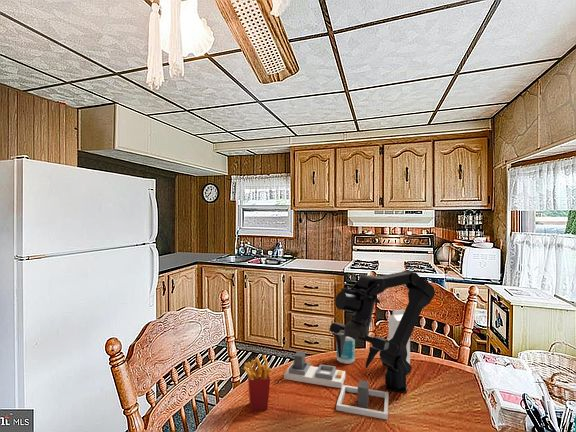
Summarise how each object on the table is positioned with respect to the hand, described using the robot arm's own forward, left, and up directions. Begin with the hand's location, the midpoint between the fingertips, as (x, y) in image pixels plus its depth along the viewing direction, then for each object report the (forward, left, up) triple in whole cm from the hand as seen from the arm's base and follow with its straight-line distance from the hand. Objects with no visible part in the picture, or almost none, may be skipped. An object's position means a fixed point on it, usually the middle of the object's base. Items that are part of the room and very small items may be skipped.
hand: (352, 362), depth 106 cm
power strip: (+15, -11, -12) cm, 22 cm away
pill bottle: (+7, -29, -12) cm, 33 cm away
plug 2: (-3, +1, -12) cm, 13 cm away
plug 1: (+21, -11, -10) cm, 26 cm away
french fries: (+29, +13, -12) cm, 34 cm away
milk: (-14, -32, -12) cm, 38 cm away
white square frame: (-3, +1, -12) cm, 13 cm away
